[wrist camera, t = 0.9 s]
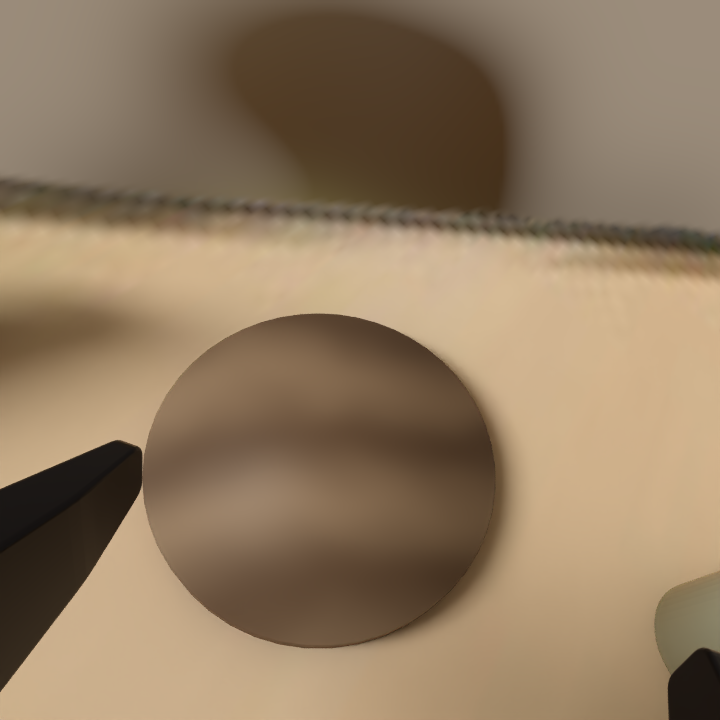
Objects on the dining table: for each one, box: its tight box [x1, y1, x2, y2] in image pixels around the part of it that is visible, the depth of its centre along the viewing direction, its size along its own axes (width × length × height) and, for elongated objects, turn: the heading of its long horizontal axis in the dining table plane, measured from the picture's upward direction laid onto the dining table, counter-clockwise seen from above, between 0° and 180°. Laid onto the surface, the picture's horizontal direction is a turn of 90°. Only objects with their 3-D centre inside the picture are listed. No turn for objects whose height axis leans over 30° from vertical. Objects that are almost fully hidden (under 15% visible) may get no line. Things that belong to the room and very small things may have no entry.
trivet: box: [142, 314, 495, 648], centre depth 26 cm, size 16×16×1 cm
